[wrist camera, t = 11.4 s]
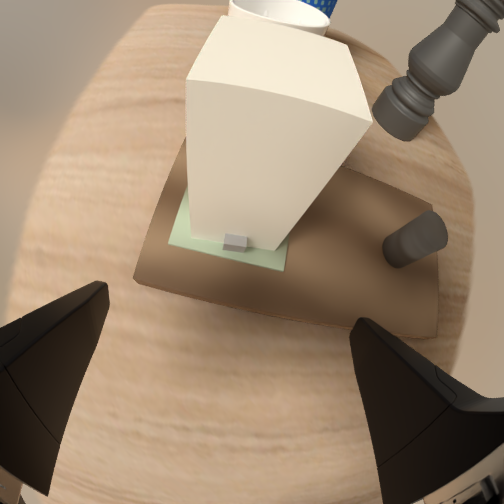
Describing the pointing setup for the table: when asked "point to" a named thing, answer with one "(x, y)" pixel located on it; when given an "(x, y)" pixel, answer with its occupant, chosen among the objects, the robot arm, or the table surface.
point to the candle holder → (436, 67)
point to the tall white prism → (266, 129)
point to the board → (310, 258)
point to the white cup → (282, 14)
